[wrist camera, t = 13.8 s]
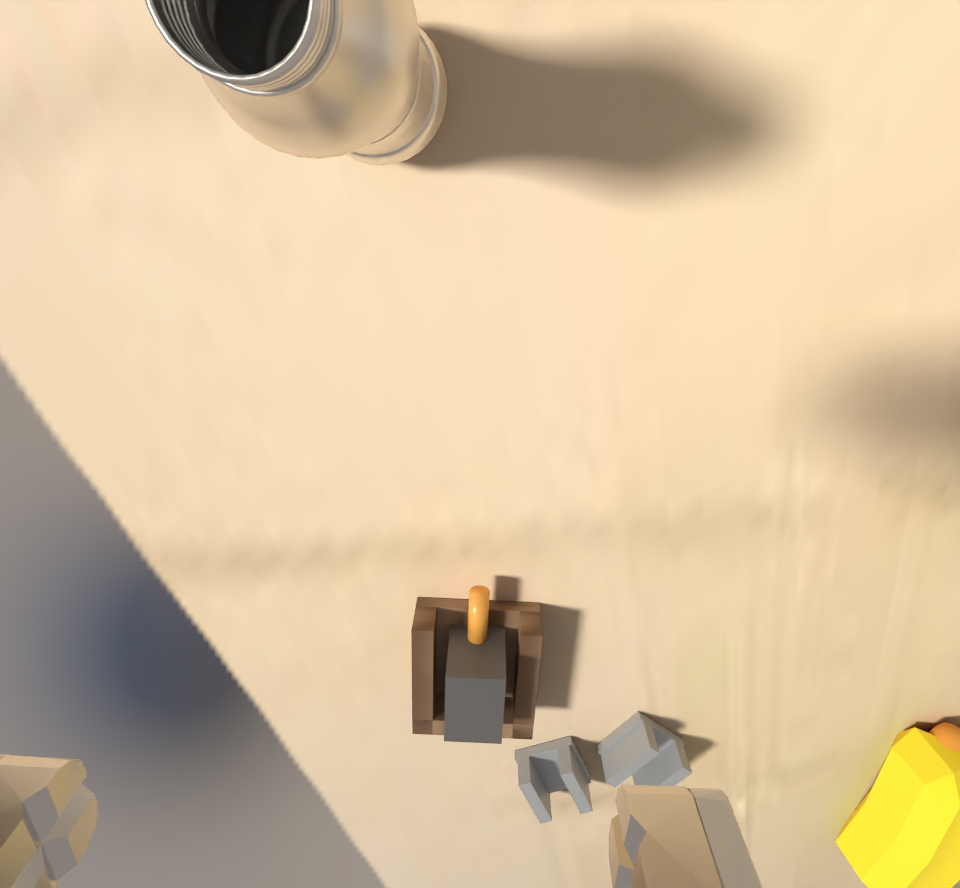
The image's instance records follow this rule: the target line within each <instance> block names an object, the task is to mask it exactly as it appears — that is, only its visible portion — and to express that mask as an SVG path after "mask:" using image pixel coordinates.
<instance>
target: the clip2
mask: <svg viewBox="0 0 960 888" xmlns="http://www.w3.org/2000/svg"><path fill="white" fill-rule="evenodd" d="M515 760H516V762H517V764H518V778H519V787H520V789H521V790H522V792H523V794H524V796H525V797H526V799H527V801H528V803H529V804H530V806H531V808H532V809H533V811H534V813H535V815H536V816H537V818H538V820H539V822H540V823H545V822H549V821H552V816H551V804H550V793H552V792H556V791H560V790H564V789H568V791H569V792H570V794H571V796H572V798H573V800H574V802H575V804H576V806H577V808H578V809H579V811H580V813H581V814H582V813H586V812H590V811H592V805H591V798H590V792H589V785H588V783H591V779H590V774H589V772H588V770H587V768H586V766H585V764H584V762H583V760H582V758H581V756H580V754H579V752H578V750H577V748H576V746H575V744H574V742H573V740H572V738H571V736H569V737H565V738H561V739H557V740H554V741H550V742H546V743H543V744H539V745H535V746H531V747H528V748H524V749H520V750H516V751H515Z"/></svg>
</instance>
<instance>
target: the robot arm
mask: <svg viewBox="0 0 960 888" xmlns="http://www.w3.org/2000/svg"><path fill="white" fill-rule="evenodd" d="M86 776H87V773H86V770H85V768H84V765H83V763H82V761H81V760H79V759H78V760H77V759H63V758H47V757H31V756H15V755H5V754H0V888H57V880H58V879H60V878H61V877H62V876H63V875H65V874H66V873H67V872H68V871H70V870H71V869H72V868H74V867H75V866H76V865H77V864H78V863H79V861H80V859H81V858H82V855H83V854H84V852H85V851H86V849H87V847H88V845H89V844H90V841H91V838H92V835H93V832H94V829H95V826H96V823H97V814H98V805H97V801H96V799H95V795H94V794H93V793H92V792H91V791H89V790H88V789H87V788H86V787H84V786H83V785H82V784H81V783H82V782H83V780H84V779H85V777H86ZM616 805H617V810H618V815H617V816H615V817H614V818H613V819H612V820H611V826H610V833H609V860H610V870H611V877H612V883H613V888H762V885H761V883H760V880H759V878H758V875H757V872H756V870H755V867H754V864H753V862H752V859H751V857H750V854H749V851H748V849H747V846H746V843H745V841H744V838H743V836H742V833H741V830H740V828H739V825H738V822H737V820H736V817H735V814H734V812H733V809H732V807H731V804H730V801H729V799H728V797H727V796H726V794H725V793H724V792H723V791H722V790H720V789H706V788H686V787H681V786H648V785H621V786H620V787H619V788H618V792H617V796H616Z"/></svg>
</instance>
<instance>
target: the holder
mask: <svg viewBox="0 0 960 888" xmlns="http://www.w3.org/2000/svg"><path fill="white" fill-rule="evenodd" d="M468 611H469V600H467V599H445V598H424V597H418V598H417V603H416V609H415V614H414V620H413V625H412V721H413V734H430V735H444V722H445V675H446V665H447V655H448V645H449V634H450V624H455V625H468ZM488 626H499V627H505V647H506V690H505V703H504V716H503V729H502V738H515V739H532V734H533V725H534V716H535V706H536V697H537V688H538V679H539V670H540V660H541V651H542V642H543V631H542V621H541V612H540V603H531V602H510V601H489V613H488Z"/></svg>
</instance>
